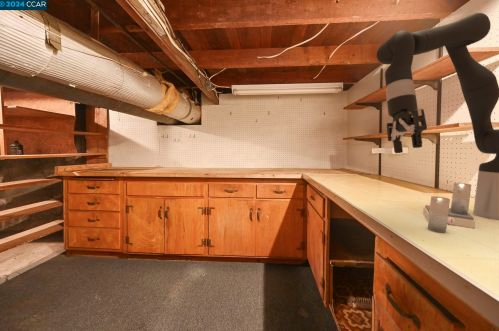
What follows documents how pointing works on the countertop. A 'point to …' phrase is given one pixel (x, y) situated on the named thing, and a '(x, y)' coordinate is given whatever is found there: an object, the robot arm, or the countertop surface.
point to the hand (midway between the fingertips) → (407, 150)
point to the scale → (454, 218)
